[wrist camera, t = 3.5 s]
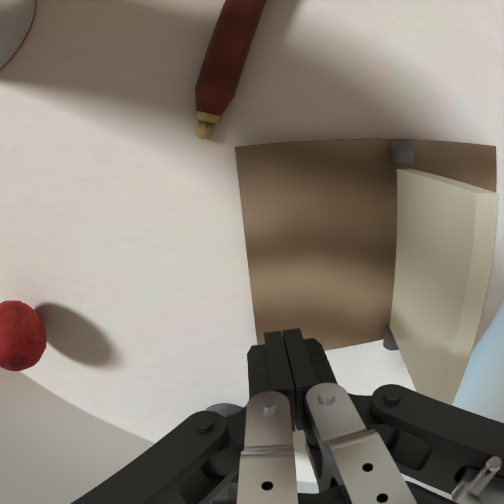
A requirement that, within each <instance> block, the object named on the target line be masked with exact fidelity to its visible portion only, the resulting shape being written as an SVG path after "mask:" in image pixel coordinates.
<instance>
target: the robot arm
mask: <svg viewBox="0 0 504 504" xmlns="http://www.w3.org/2000/svg"><path fill="white" fill-rule="evenodd" d="M34 11H35V0H0V69H1V68H2V67H3V66H4V65H5V64H6V63H7V62H8V61H9V60H10V58H11V57H12V56H13V55H14V53H15V52H16V51H17V49H18V48H19V46H20V45H21V43H22V41H23V40H24V38H25V36H26V34H27V32H28V30H29V28H30V25H31V23H32V19H33V16H34ZM263 335H264V344H263V345H254V346H251V348H250V350H249V352H248V353H247V360H248V378H249V401H248V403H247V405H246V406H245V407H244V408H243V409H242V410H241V411H239V412H237V413H235V414H232V415H229V416H226V417H223V416H222V415H221V414H219V413H217V412H214V411H200V412H197V413H194V414H192V415H191V416H189V417H188V418H187V419H186V420H184V421H183V422H182V423H181V424H179V425H178V426H177V427H176V428H175V429H173V430H172V431H171V432H170V433H168V434H167V435H166V436H165V437H163V438H162V439H161V440H159V441H158V442H157V443H156V444H154V445H153V446H152V447H150V448H149V449H148V450H147V451H145V452H144V453H143V454H142V455H140V456H139V457H137V458H136V459H135V460H133V461H132V462H131V463H129V464H128V465H127V466H125V467H124V468H122V469H121V470H120V471H119V472H117V473H115V474H114V475H113V476H111V477H110V478H108V479H107V480H105V481H104V482H103V483H101V484H100V485H98V486H97V487H95V488H94V489H92V490H91V491H90V492H88V493H86V494H85V495H83V496H82V497H80V498H79V499H77V500H76V501H74V502H73V503H71V504H208V503H209V502H210V501H211V500H212V499H213V498H214V497H215V496H216V495H217V494H218V493H219V492H220V491H221V490H222V489H223V488H224V487H225V486H226V485H227V484H228V483H229V482H230V481H231V480H232V479H233V478H234V477H235V476H236V474H237V472H238V471H239V481H238V494H237V504H504V423H501V422H498V421H495V420H492V419H488V418H486V417H483V416H480V415H477V414H474V413H471V412H469V411H465V410H463V409H460V408H457V407H455V406H452V405H449V404H446V403H444V402H441V401H438V400H436V399H433V398H430V397H428V396H425V395H423V394H420V393H418V392H415V391H412V390H410V389H407V388H405V387H402V386H400V385H395V384H388V385H384V386H381V387H379V388H377V389H376V390H375V391H374V393H373V395H372V396H362V395H353V394H349V393H347V392H346V390H345V389H344V388H343V387H341V386H340V385H338V384H337V381H336V379H335V376H334V374H333V371H332V369H331V366H330V364H329V361H328V360H327V357H326V354H325V352H324V349H323V347H322V344H321V343H319V342H318V341H317V340H316V339H314V338H309V339H303V336H302V333H301V330H300V328H295V329H287V330H282V333H281V330H280V331H272V332H263ZM295 423H296V428H297V431H298V430H304V433H305V446H306V450H307V453H308V456H309V459H310V462H311V465H312V468H313V471H314V474H315V477H316V480H317V483H318V487H319V493H317V494H308V493H297V481H296V467H295V454H294V448H293V431H295ZM408 434H409V435H408ZM415 437H416V438H415ZM422 440H423V441H422ZM401 473H402V474H405V475H407V476H409V477H411V478H414V479H416V480H418V481H420V482H422V483H425V484H427V485H429V486H432V487H434V488H437V489H439V490H442V491H444V492H446V493H449V494H452V499H453V501H452V500H449V499H447V498H445V497H443V496H440V495H438V494H436V493H434V492H431V491H429V490H427V489H425V488H423V487H421V486H419V485H417V484H415V483H412V482H409V481H405V480H404V479H403V477H402V475H401Z"/></svg>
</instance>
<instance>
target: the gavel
mask: <svg viewBox="0 0 504 504" xmlns="http://www.w3.org/2000/svg"><path fill="white" fill-rule="evenodd" d="M265 2H266V0H225V3H224V5H223V8H222V11H221V13H220V16H219V19H218V21H217V24H216V27H215V30H214V32H213V35H212V38H211V41H210V44H209V47H208V50H207V53H206V56H205V59H204V62H203V65H202V68H201V71H200V74H199V78H198V81H197V84H196V87H195V92H196V114H195V116H196V118H197V119H198V120H199V121H200V123H199V125H198V126H197V128H196V136H198V137H199V138H201V139H204V138H208V137H209V136H210V134H211V124H214V123H217V122H218V121H219V119H220V116H221V115H222V113H223V112H224V110H225V109H226V107H227V106H228V105H229V103H230V102H231V100H232V99H233V98H234V95H235V92H236V88H237V85H238V82H239V79H240V76H241V73H242V69H243V66H244V63H245V60H246V57H247V54H248V51H249V48H250V45H251V42H252V39H253V36H254V33H255V30H256V27H257V24H258V22H259V19H260V16H261V13H262V10H263V8H264V5H265Z"/></svg>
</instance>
